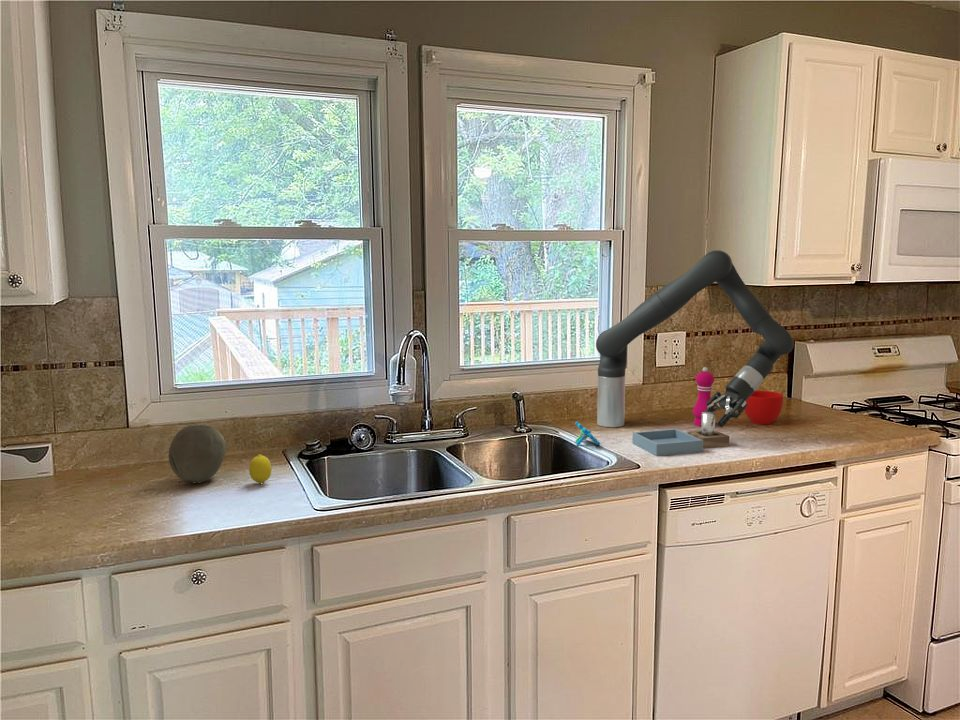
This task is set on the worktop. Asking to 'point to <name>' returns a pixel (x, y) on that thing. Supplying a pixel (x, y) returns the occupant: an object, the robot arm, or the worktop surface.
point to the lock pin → (708, 424)
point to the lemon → (260, 469)
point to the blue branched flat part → (584, 435)
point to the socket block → (711, 439)
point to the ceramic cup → (764, 407)
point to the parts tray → (667, 442)
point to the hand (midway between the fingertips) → (710, 422)
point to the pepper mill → (702, 394)
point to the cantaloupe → (197, 453)
